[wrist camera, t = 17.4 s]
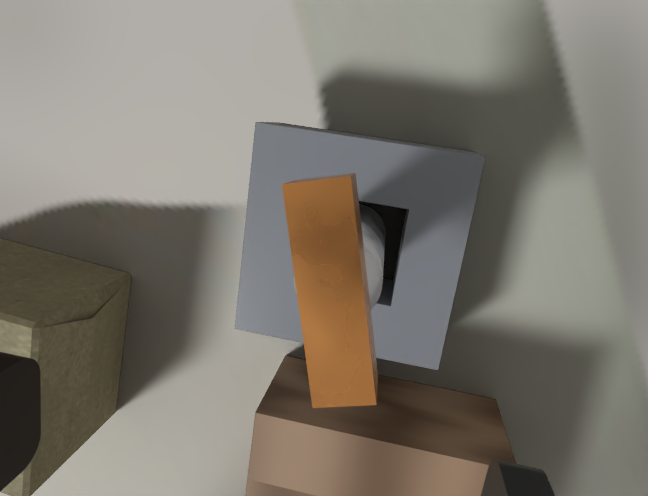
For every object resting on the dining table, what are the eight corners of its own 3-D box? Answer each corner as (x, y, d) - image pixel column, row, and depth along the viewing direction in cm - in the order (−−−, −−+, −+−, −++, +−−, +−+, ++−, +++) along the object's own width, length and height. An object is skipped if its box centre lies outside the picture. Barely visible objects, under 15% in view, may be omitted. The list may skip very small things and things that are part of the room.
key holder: (257, 301, 28) (234, 328, 25) (278, 122, 26) (255, 122, 22) (433, 335, 27) (437, 370, 23) (473, 151, 25) (485, 156, 21)
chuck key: (321, 169, 26) (264, 186, 14) (378, 162, 26) (368, 174, 14) (337, 297, 27) (296, 409, 16) (391, 293, 27) (392, 404, 15)
